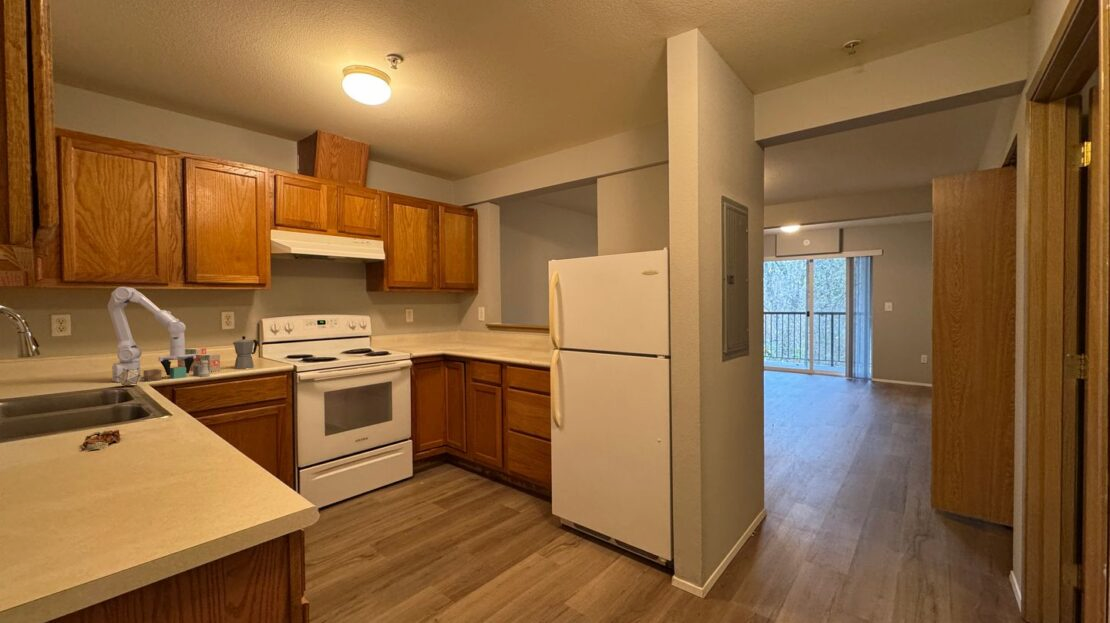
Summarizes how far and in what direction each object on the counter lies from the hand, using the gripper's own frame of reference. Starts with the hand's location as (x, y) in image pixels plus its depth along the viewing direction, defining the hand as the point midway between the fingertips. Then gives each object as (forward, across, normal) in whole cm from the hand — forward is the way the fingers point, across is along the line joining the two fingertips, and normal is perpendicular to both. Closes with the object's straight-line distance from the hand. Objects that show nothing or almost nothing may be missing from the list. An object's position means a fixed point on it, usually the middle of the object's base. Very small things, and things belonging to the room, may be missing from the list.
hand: (177, 374), depth 229 cm
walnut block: (+2, -10, 0) cm, 10 cm away
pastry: (+2, -61, -117) cm, 132 cm away
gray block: (+2, +10, 0) cm, 10 cm away
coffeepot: (+2, +35, +8) cm, 36 cm away
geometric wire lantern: (+2, -22, -12) cm, 25 cm away
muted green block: (+2, 0, 0) cm, 2 cm away
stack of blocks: (+2, +16, +18) cm, 24 cm away
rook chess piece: (+2, +8, -8) cm, 11 cm away
